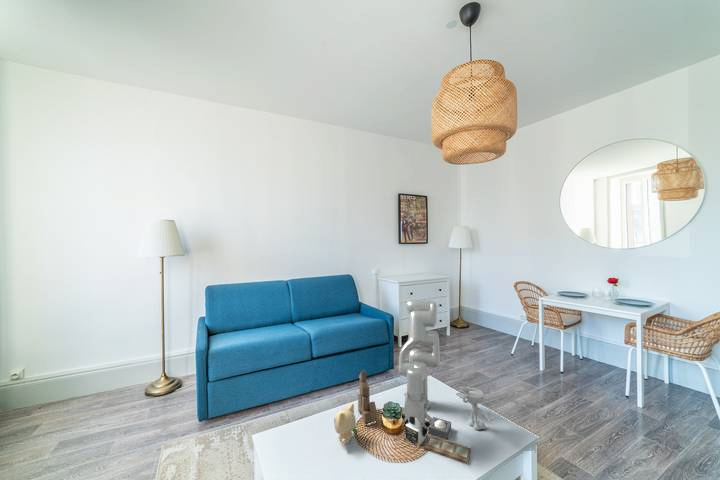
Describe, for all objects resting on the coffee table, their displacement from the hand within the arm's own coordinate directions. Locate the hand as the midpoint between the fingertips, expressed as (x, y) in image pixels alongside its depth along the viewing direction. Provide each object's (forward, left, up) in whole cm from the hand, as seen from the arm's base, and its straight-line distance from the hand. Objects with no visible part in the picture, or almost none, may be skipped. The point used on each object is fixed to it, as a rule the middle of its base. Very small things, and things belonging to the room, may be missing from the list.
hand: (415, 431), depth 133 cm
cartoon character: (+23, +22, -4) cm, 32 cm away
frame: (0, 0, -4) cm, 4 cm away
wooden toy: (-29, +5, -4) cm, 30 cm away
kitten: (-30, -15, -4) cm, 34 cm away
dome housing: (+9, +11, -4) cm, 15 cm away
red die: (+3, +13, -4) cm, 14 cm away
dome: (+9, +11, -3) cm, 15 cm away
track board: (+15, 0, -4) cm, 15 cm away
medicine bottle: (0, 0, -4) cm, 4 cm away
